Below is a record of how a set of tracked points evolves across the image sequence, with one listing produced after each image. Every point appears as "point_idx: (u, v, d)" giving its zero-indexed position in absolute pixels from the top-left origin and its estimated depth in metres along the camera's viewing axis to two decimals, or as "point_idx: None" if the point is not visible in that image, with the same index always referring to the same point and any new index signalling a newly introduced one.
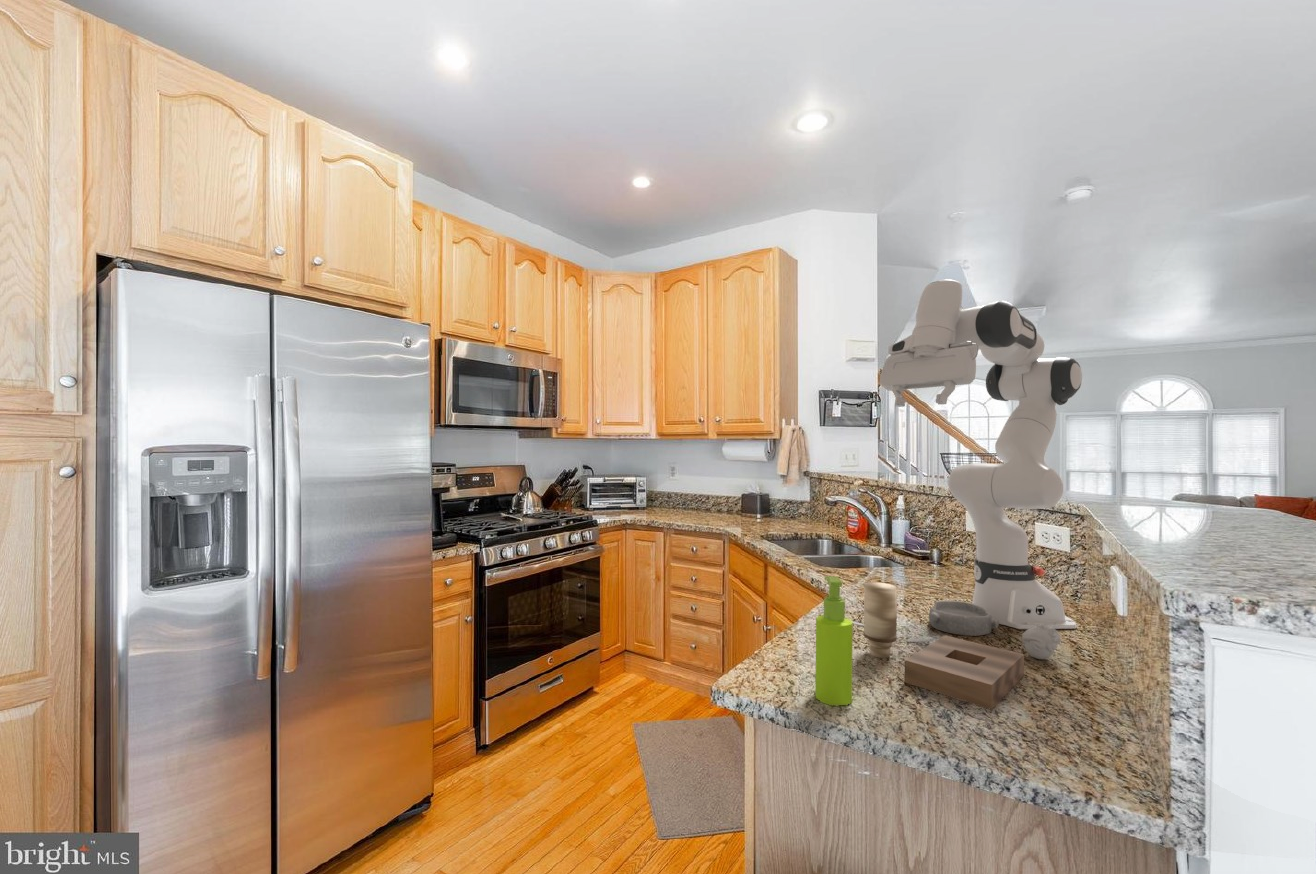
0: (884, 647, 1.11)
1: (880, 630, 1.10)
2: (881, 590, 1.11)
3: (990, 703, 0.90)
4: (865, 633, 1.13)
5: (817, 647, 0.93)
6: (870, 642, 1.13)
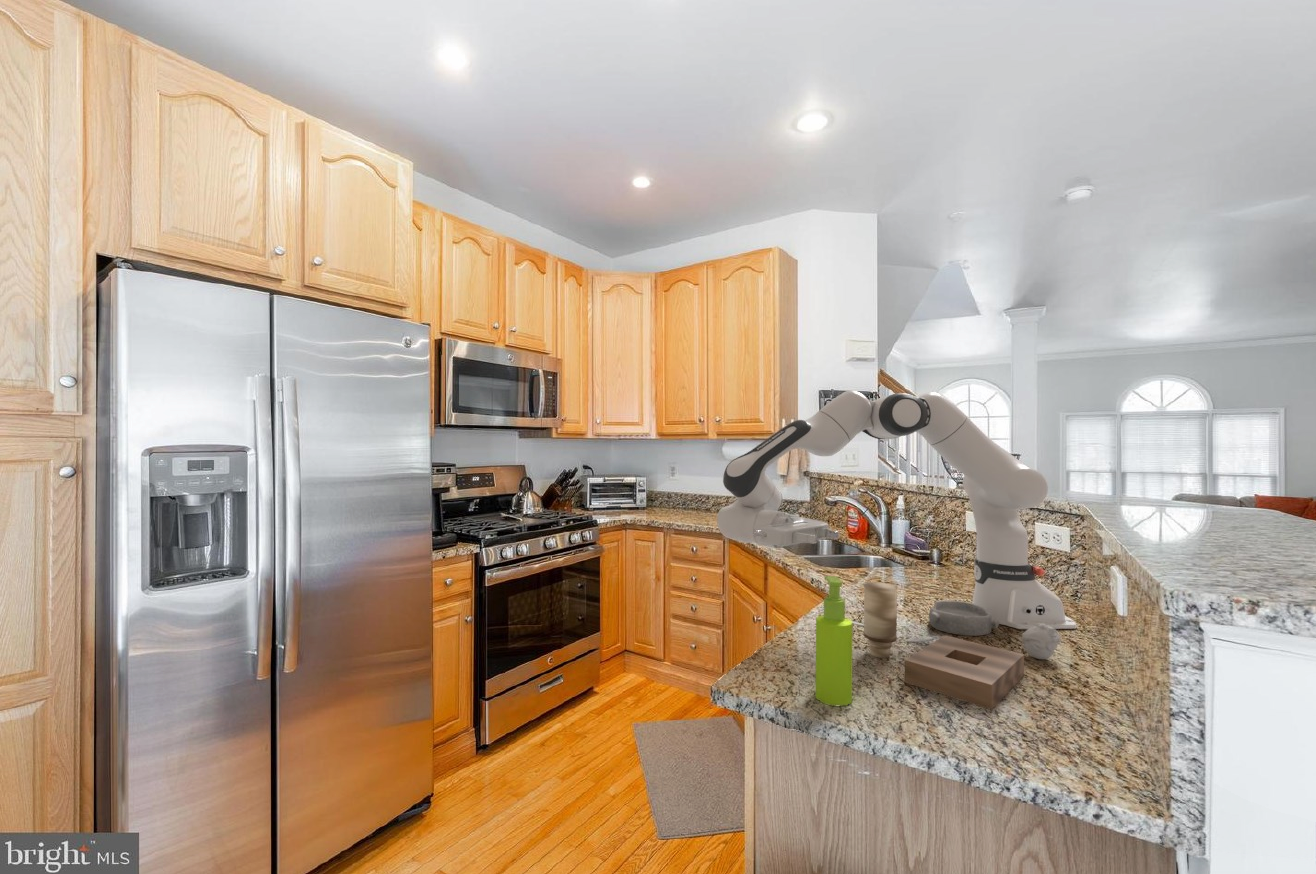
0: (884, 647, 1.11)
1: (880, 630, 1.10)
2: (881, 590, 1.11)
3: (990, 703, 0.90)
4: (865, 633, 1.13)
5: (817, 647, 0.93)
6: (870, 642, 1.13)
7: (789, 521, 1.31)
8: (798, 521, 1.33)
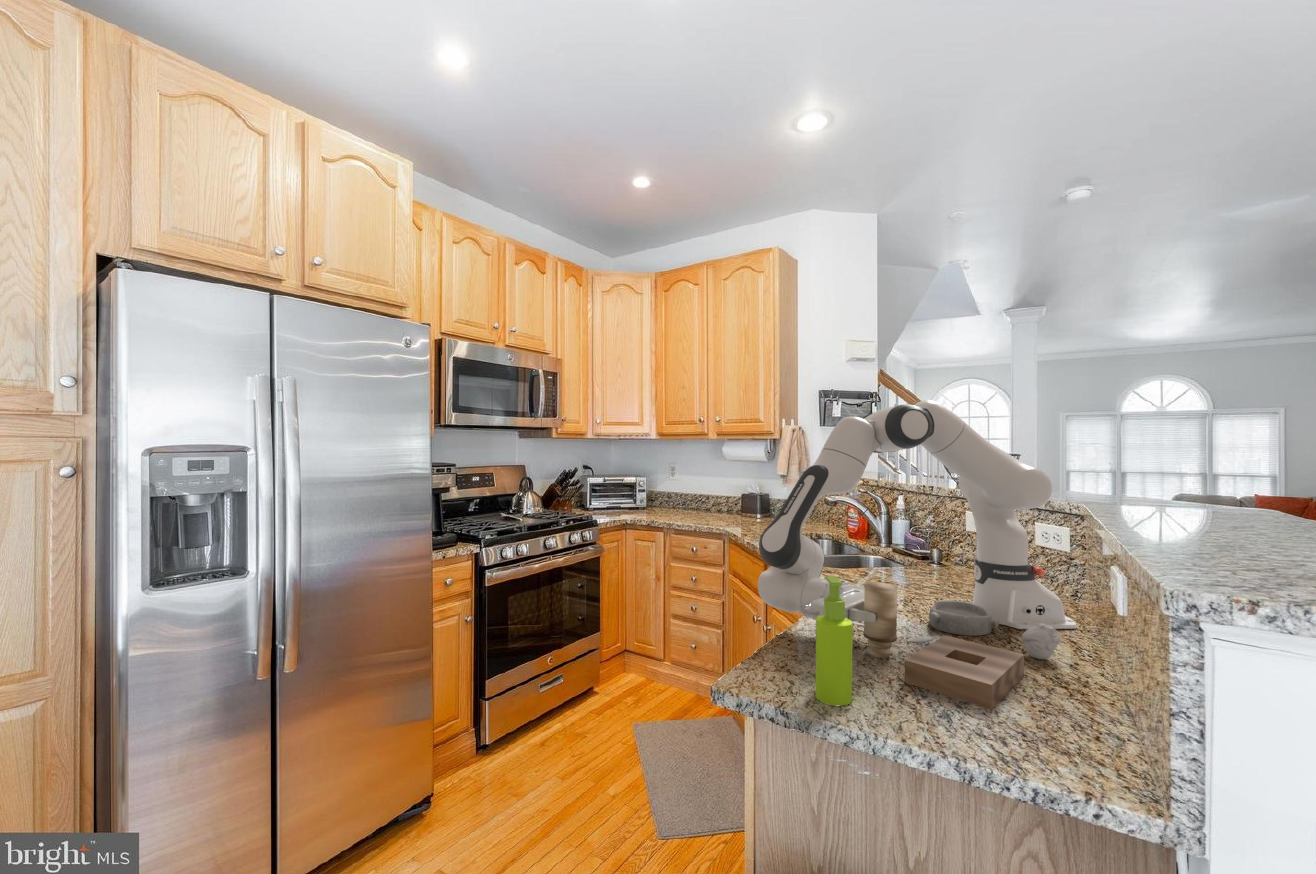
0: (884, 647, 1.11)
1: (880, 630, 1.10)
2: (881, 590, 1.11)
3: (990, 703, 0.90)
4: (865, 633, 1.13)
5: (817, 647, 0.93)
6: (870, 642, 1.13)
7: None
8: (848, 590, 1.24)
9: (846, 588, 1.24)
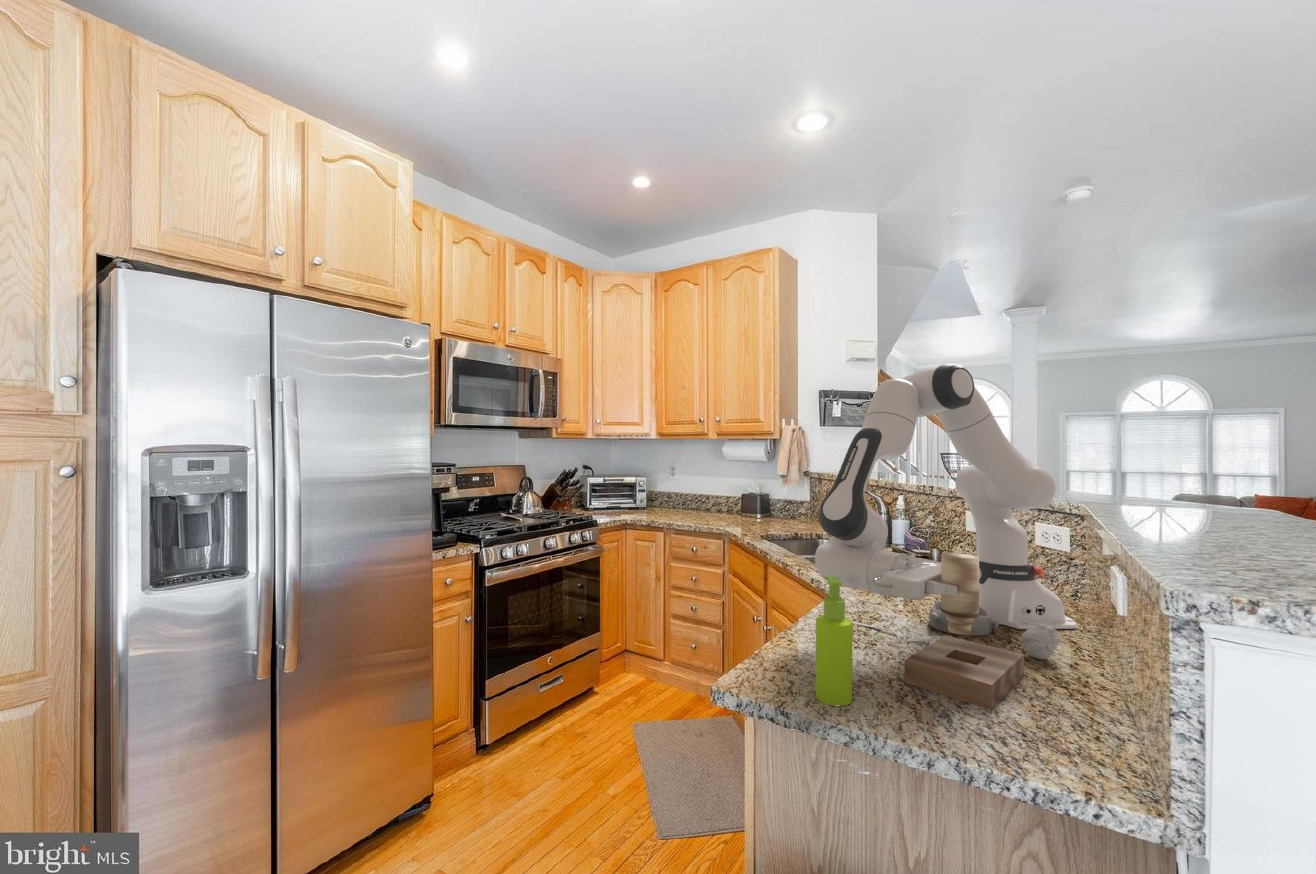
0: (966, 623, 1.00)
1: (962, 604, 1.00)
2: (963, 560, 1.00)
3: (990, 703, 0.90)
4: (943, 608, 1.03)
5: (817, 647, 0.93)
6: (949, 618, 1.02)
7: (909, 565, 1.11)
8: (918, 564, 1.13)
9: (915, 561, 1.13)
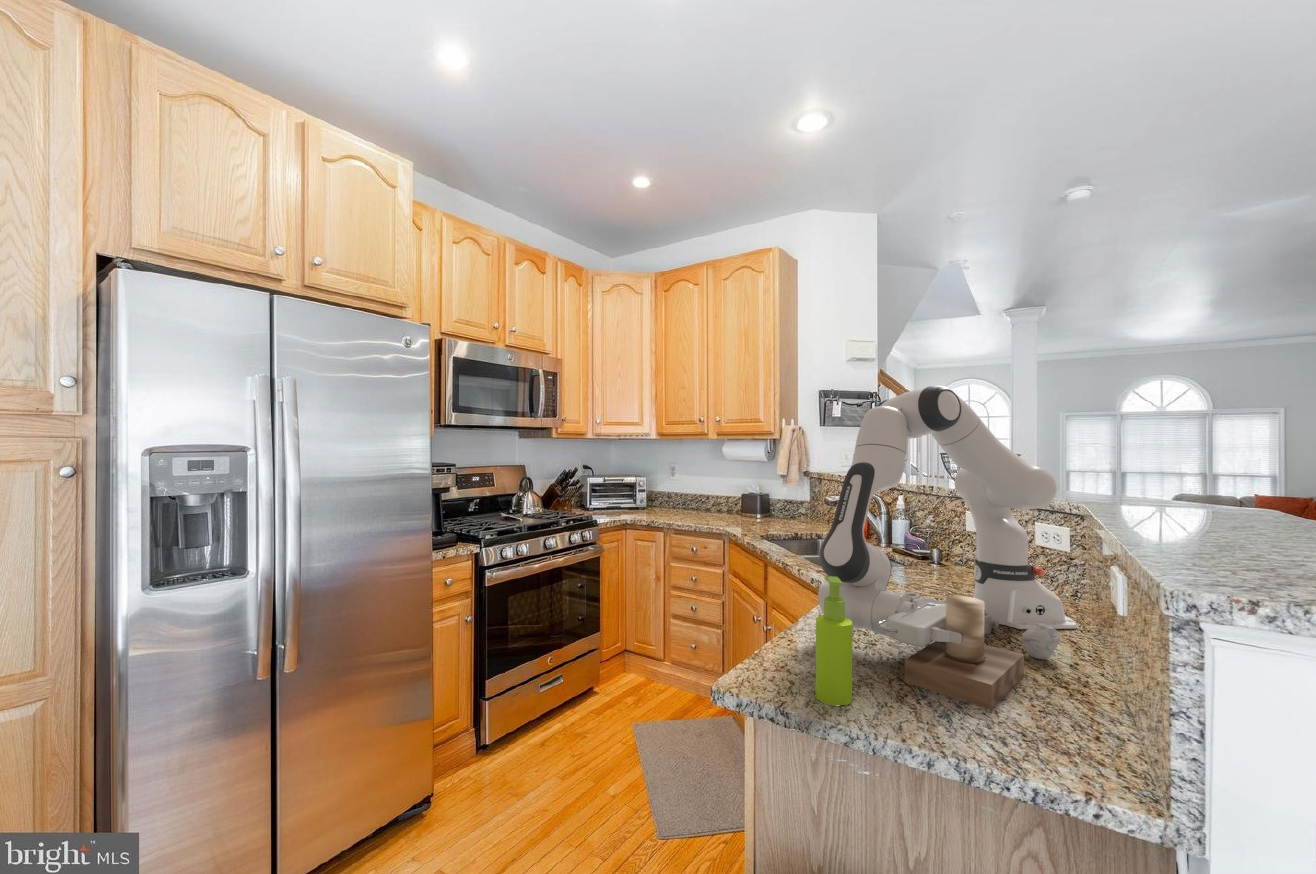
0: None
1: (967, 649, 0.99)
2: (968, 605, 0.99)
3: (990, 703, 0.90)
4: (948, 652, 1.02)
5: (817, 647, 0.93)
6: None
7: (914, 606, 1.10)
8: (922, 604, 1.12)
9: (920, 602, 1.12)
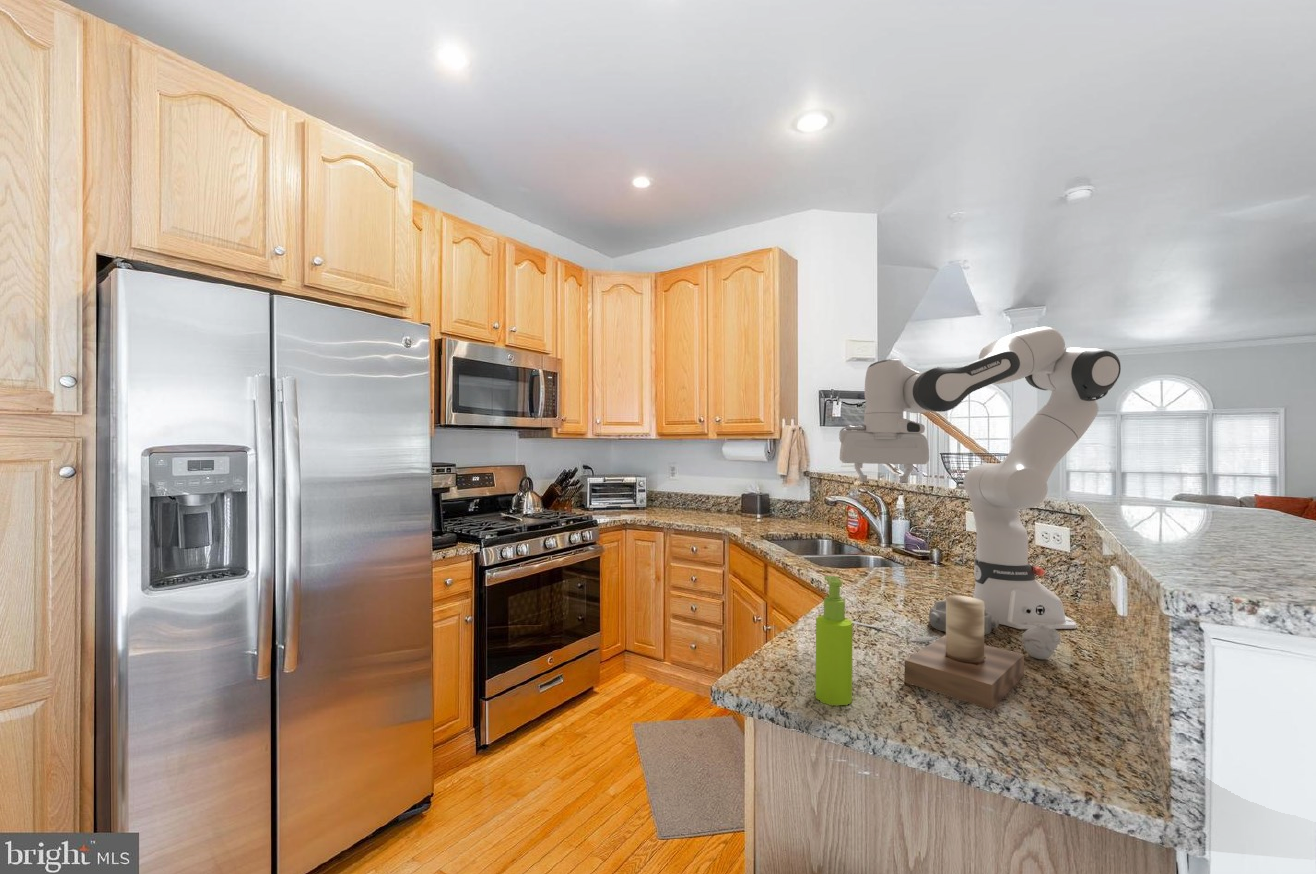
0: None
1: (967, 649, 0.99)
2: (968, 605, 0.99)
3: (990, 703, 0.90)
4: (948, 652, 1.02)
5: (817, 647, 0.93)
6: None
7: (891, 439, 1.32)
8: (907, 440, 1.31)
9: (907, 438, 1.31)
